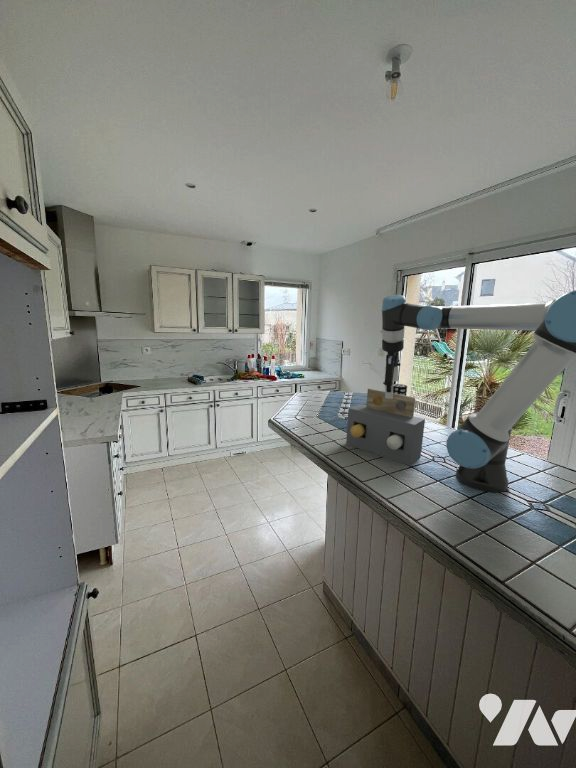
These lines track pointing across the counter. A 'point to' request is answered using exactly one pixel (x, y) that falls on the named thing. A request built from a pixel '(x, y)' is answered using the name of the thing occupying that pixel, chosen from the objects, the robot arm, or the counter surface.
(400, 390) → the black white block
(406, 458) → the console
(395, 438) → the button ivory
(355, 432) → the button ochre
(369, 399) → the placard
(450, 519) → the counter surface
